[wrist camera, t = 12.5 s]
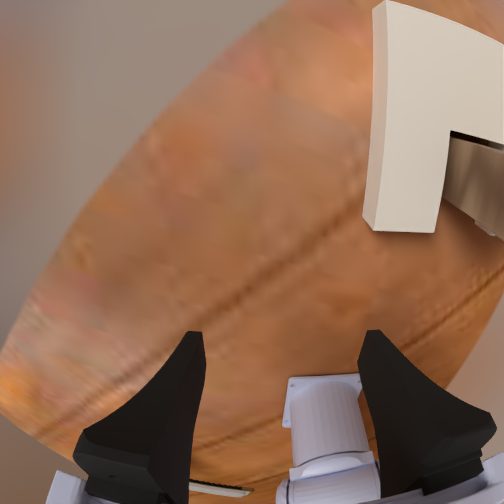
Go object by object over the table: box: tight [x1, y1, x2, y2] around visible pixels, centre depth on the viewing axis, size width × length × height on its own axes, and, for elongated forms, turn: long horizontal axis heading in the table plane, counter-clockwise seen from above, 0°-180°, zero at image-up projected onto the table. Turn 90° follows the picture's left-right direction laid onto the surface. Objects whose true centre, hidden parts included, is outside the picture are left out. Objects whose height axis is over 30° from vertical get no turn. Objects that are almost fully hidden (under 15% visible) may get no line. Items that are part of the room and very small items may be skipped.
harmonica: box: [189, 479, 253, 497], centre depth 44 cm, size 15×3×2 cm, turn 73°
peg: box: [441, 136, 504, 241], centre depth 15 cm, size 4×4×9 cm
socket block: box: [362, 0, 504, 236], centre depth 16 cm, size 15×16×2 cm
